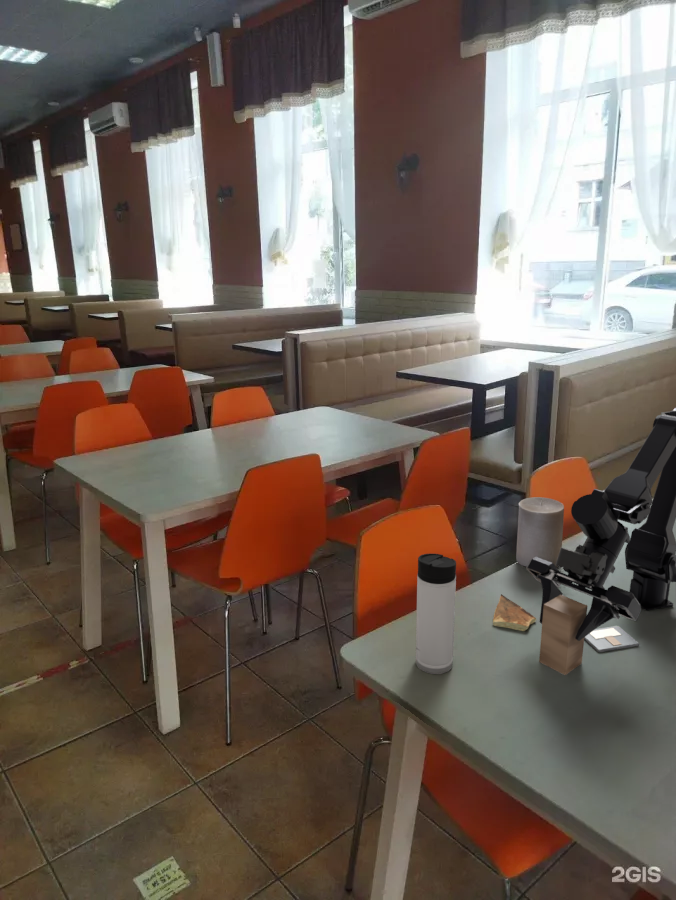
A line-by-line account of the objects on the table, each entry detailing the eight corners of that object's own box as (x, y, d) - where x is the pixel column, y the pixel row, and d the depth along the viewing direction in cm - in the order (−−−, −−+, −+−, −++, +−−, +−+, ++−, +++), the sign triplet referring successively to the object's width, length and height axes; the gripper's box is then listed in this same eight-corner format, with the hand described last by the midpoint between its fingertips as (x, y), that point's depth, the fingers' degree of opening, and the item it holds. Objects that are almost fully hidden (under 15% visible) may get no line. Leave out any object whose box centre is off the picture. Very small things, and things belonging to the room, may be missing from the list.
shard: (500, 600, 134) (501, 592, 134) (539, 607, 132) (540, 599, 131) (490, 627, 125) (491, 619, 124) (532, 635, 122) (533, 627, 121)
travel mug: (406, 665, 113) (408, 557, 107) (430, 649, 117) (433, 545, 112) (436, 680, 109) (439, 569, 103) (460, 663, 113) (464, 556, 107)
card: (617, 628, 123) (617, 625, 123) (638, 645, 117) (639, 642, 117) (578, 634, 121) (579, 631, 121) (598, 652, 116) (598, 649, 115)
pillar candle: (553, 551, 155) (557, 491, 150) (566, 570, 145) (570, 506, 141) (511, 552, 155) (514, 491, 151) (521, 571, 146) (524, 507, 141)
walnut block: (555, 650, 116) (560, 594, 113) (581, 663, 113) (587, 605, 110) (539, 661, 113) (543, 604, 110) (565, 675, 110) (570, 616, 106)
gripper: (535, 513, 116) (493, 591, 112) (640, 547, 102) (596, 637, 98) (557, 542, 123) (518, 616, 119) (658, 578, 109) (617, 662, 105)
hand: (558, 631), depth 110 cm, fingers open, 6 cm apart
